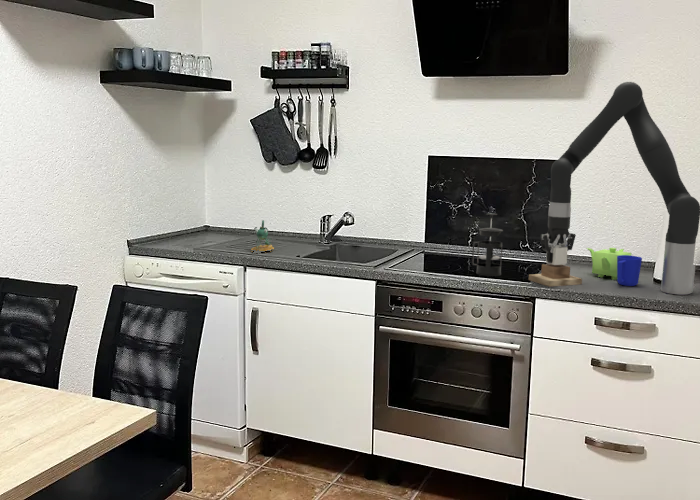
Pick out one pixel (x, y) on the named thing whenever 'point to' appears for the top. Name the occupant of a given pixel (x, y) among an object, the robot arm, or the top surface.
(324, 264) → the top surface
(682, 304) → the top surface
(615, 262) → the kettle
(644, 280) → the top surface
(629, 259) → the mug
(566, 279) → the board
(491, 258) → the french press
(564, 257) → the cube
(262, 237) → the frog figurine
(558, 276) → the base block
